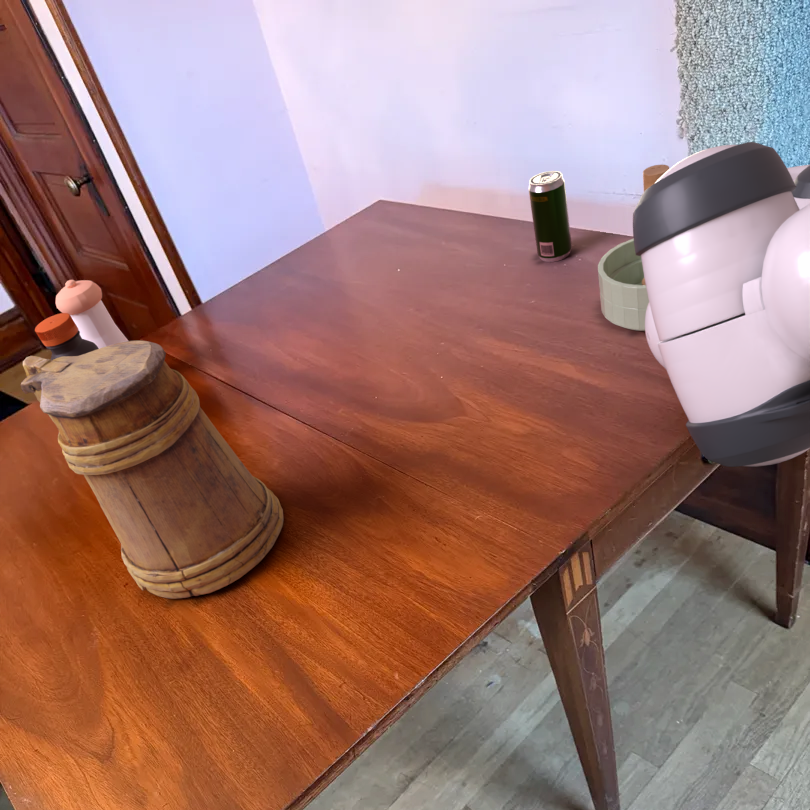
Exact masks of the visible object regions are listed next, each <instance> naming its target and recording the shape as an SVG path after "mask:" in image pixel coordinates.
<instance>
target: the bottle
mask: <svg viewBox="0 0 810 810" xmlns="http://www.w3.org/2000/svg"><path fill="white" fill-rule="evenodd" d="M34 332H35V334H36V335H37V337H38V339H39V340H40V341H41V343H42V344H43V346H45V348H46V349H47V350H50V352H51V357H50V360H54V359H56V358H59V357H64V356H80V355H83V354H86V353H89V352H91V351H94V350H97V349H99V348H98V347H97V345H96V344H95V343H93V342H91V341H88V340H85V339H82V338H81V336H80V331H79V330H78V327H77V326H76V324H75V322H74V321H73V319H72V317H71V316H70V314H68V313H62V312H60V313H57V314H53V315H52V316H51V315H50V316H49V317H47V318H45V319H44V320H42V321H41V322H39V323H38V324H37V325H36V326H35V328H34Z"/></svg>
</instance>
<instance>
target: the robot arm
mask: <svg viewBox="0 0 810 810" xmlns="http://www.w3.org/2000/svg"><path fill="white" fill-rule="evenodd" d="M632 236H633V238H634V247H635V254H636V255H637V256H641V259H642V265H643V272H644V278H645V283H646V288H647V293H648V299H649V303H648V306H647V310H646V315H645V331H644V333H645V337H646V342H647V345H648V347H649V350H650V351H651V354H652V355H653V357H654V358H655V360H656V361H657V362H658V363H659V364H660V366H662V367H663V368H664V369H665V370H666V373H667V376H668V378H669V380H670V383H671V385H672V388H673V390H674V392H675V394H676V397H677V399H678V401H679V403H680V405H681V407H682V409H683V412H684V413H685V416H686V417H687V419H688V420H687V422H686V423H685V427H686V429H687V431H688V433H689V434H690V437H691V439H693V441H694V443H695V446H696V447H697V448H698V450H699V451H700V453H701V454H702V455H703V457H704V458H705V459H706V460H708V461H711V462H713V463H716V464H718V465H721V466H723V467H729V468H733V467H734V468H735V467H764V466H771V465H776V464H781V463H783V462H786V461H789V460H791V459H794V458H796V457H798V456H800V455H802V454H804V453H805V452H807V451H809V450H810V164H804V165H803V164H802V165H796V166H791V167H787V166H786V163H785V162H784V160H782V157H781V155H779V153H778V152H777V150H776V149H775V148H774V147H771V146H768V145H765V144H761V143H758V142H755V141H748V142H743V143H740V144H725V145H724V144H723V145H717V146H713V147H708V148H705V149H703V150H700V151H698V152H695V153H693V154H691V155H689V156H687V157H685V158H682V160H680V161H678V162H677V163H675V164H674V165H673V166H671V167H669V170H668V171H666V172H665V173H664V174H663V175H662V176H661V177H660V178H659V179H658V180H657V181H656V182H655V184H653V185H652V186H650V187H649V188H648V189H646V190H645V191H644V190H643V192H642V193H641V196H640V198H639V200H638V202H637V204H636V206H635V208H634V210H633V212H632ZM633 238H632V239H633Z"/></svg>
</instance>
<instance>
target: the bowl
mask: <svg viewBox="0 0 810 810" xmlns="http://www.w3.org/2000/svg"><path fill="white" fill-rule="evenodd" d="M597 271H598V272H597V274H598V286H599V297H600V309H601V313H602V315H603V316H604V318H605V319H606V320H607V321H609V322H610V323H612V324H613V325H616V326H618V327H621V328H623V329H627V330H632V331H637V332H638V331H639V332H645V315H646V310H647V306H648V303H649V299H648V293H647V288H646V285H642V280H643V278H644V272H643V265H642V259H641V256H637V255H636V254H635V247H634V238H631V239H628V240H626V241H624V242H620V243H619V244H617V245H615V246H614V247H612V248H611V249H609V250H608V251H607V252H606V253H605V254H604V255H603V256H602V257H601V258H600V260H599V262H598V264H597Z"/></svg>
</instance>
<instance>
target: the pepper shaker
mask: <svg viewBox="0 0 810 810" xmlns="http://www.w3.org/2000/svg"><path fill="white" fill-rule="evenodd" d="M64 285H65V286H63V287H62V288H61V289H60V290H59V291H58V293H57V294H56V295H55V306H56V309H58V311H59V312H60V313H68V314H70V316H71V317H72V319H73V321H74V322H75V324H76V326H77V327H78V330H79V331H80V337H81V338H82V339H85V340H88V341H91V342H93V343H95V344H96V345H97V347H98V348H99V349H100V348H103V347H106V346H110V345H113V344H116V343H121V342H127V341H129V340H128V338H127V336H125V334H124V333H123V332H122V331H121V330H120V328H119V327H118V325H117V324H116V323H115V321H114V319H113V318H112V316H111V315H110V313H109V311H108V309H107V308H106V306H105V304H104V302H103V301H102V299H103V291H102V288H101V287H100V286H99V285H98V284H97V283H96V282H94V281H93V280H90V279H89V280H88V279H87V280H85V279H83V280H74V279H69V280H66V282H65V284H64Z"/></svg>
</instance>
